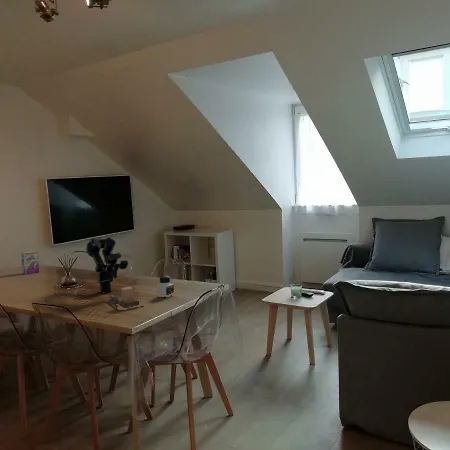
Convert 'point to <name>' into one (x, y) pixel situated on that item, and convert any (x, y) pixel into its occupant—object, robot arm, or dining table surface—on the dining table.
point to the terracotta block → (127, 294)
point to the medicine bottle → (165, 286)
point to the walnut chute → (115, 300)
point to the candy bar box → (30, 262)
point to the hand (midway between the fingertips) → (115, 277)
